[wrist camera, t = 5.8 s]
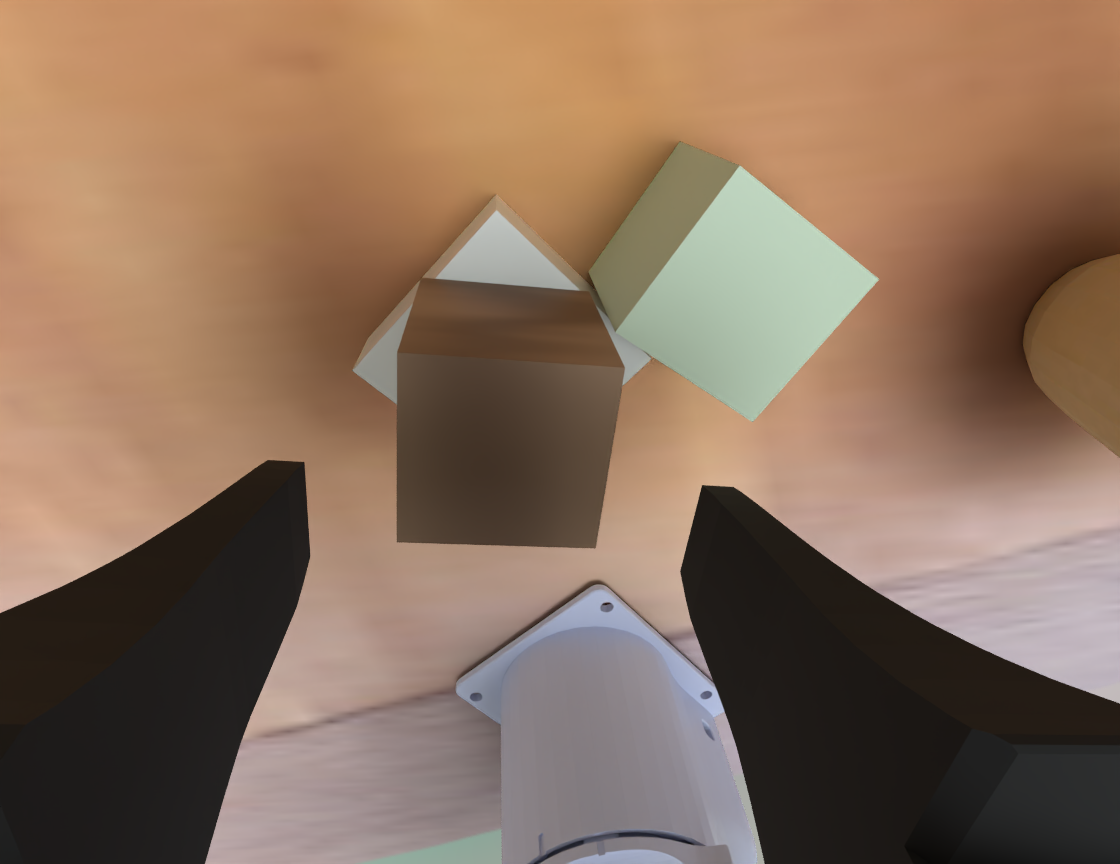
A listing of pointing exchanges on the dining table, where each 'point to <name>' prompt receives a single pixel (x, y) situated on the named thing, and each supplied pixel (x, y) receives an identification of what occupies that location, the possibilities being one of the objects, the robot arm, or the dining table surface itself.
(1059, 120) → the dining table surface
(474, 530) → the walnut block
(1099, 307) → the ice cream cone
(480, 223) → the ceramic slab
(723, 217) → the sage block
